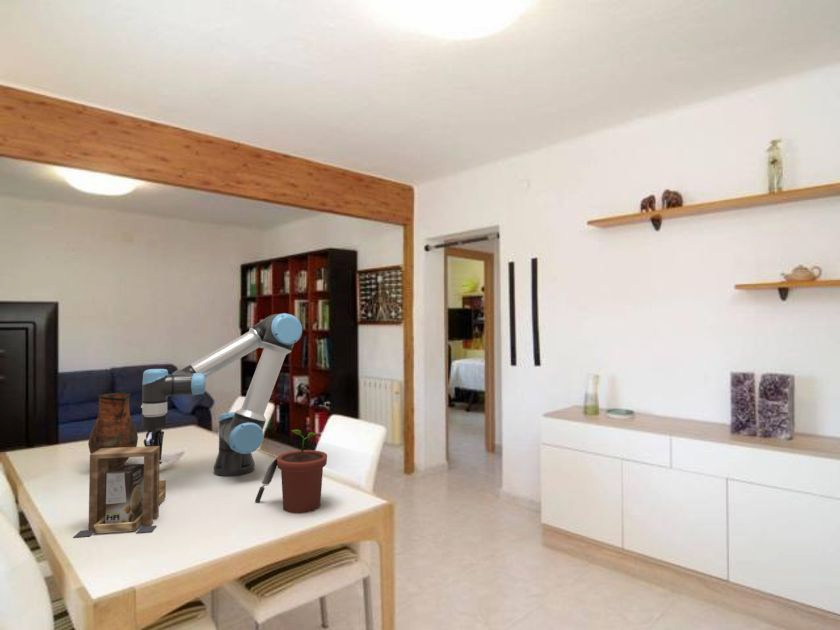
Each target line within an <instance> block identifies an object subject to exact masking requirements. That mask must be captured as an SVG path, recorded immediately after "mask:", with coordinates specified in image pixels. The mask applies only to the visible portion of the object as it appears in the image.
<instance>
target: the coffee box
mask: <svg viewBox="0 0 840 630" xmlns="http://www.w3.org/2000/svg"><path fill="white" fill-rule="evenodd" d="M143 492H144V463H128V464H127V463H124V464H123V465H121V466H119V467H117V468H115V469H113V470H111V471H109V472H107V479H106V515H105V524H110V523H125V522H134V521H135V520H136V519H137V517H138V516H139V515H140V514H141V513H142V512H143Z"/></svg>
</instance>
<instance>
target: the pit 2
mask: <svg viewBox="0 0 840 630" xmlns="http://www.w3.org/2000/svg"><path fill="white" fill-rule="evenodd" d="M157 527H158V525H151V526H143V525H141V526H140V528H139V529H138V530H136V533H135V534H150V533H153V532H154V530H155V529H157Z"/></svg>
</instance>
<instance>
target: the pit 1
mask: <svg viewBox="0 0 840 630" xmlns="http://www.w3.org/2000/svg"><path fill="white" fill-rule="evenodd" d="M92 535H94V533H93V530H89V529H84V530H80V531H78V532H77V533H76V534H75V535H74V536H72V538H73V539H78V538H90V537H91V536H92Z"/></svg>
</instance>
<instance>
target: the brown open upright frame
mask: <svg viewBox="0 0 840 630" xmlns="http://www.w3.org/2000/svg"><path fill="white" fill-rule="evenodd" d="M123 457H129V458H141V457H143V464H144V492H143V523H142V526H153V524H154V520H157V519H158V518H159V517H160V513H159V512H160V504H159V480H160V465H161V464H160V462H161V460H160V446H148V447H145V446H137V447H122V448H101V449H99V450H97V451H95V452H94V453H92V454H91V453H90V454H89V481H88V482H89V486H88V487H89V488H88V489H89V492H88V494H89V495H88V530H93V528H94V525H95V524H96V523H97V522H99V521H100V520H101V519H102V518H103V517H104V516H105V515H106V479H107V472H108V458H123Z"/></svg>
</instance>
